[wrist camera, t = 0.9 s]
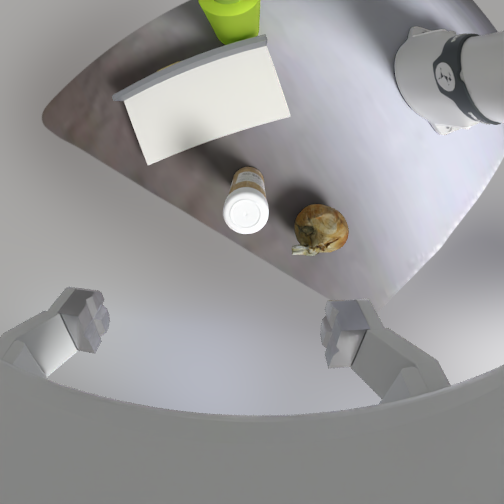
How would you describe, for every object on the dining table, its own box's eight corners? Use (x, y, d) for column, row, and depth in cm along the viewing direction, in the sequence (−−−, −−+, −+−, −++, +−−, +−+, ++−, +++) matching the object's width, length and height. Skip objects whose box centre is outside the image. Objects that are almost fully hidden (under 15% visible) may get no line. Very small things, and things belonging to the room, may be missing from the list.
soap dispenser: (235, 2, 25) (219, -76, 8) (267, 31, 28) (279, -38, 10) (202, 25, 27) (157, -40, 9) (234, 54, 29) (212, -1, 12)
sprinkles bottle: (226, 185, 39) (213, 220, 27) (243, 160, 37) (238, 182, 25) (253, 202, 40) (252, 243, 28) (270, 177, 38) (278, 208, 26)
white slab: (263, 44, 29) (264, 32, 23) (288, 116, 34) (293, 116, 28) (130, 95, 32) (111, 93, 26) (155, 161, 37) (139, 170, 32)
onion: (325, 251, 44) (338, 278, 37) (282, 232, 42) (287, 258, 35) (349, 211, 40) (367, 233, 33) (304, 189, 39) (316, 207, 32)
